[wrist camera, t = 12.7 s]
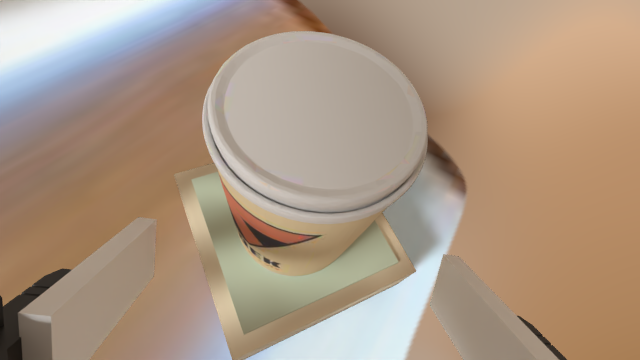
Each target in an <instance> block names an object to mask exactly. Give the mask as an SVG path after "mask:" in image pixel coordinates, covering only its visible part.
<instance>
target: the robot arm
mask: <svg viewBox="0 0 640 360" xmlns="http://www.w3.org/2000/svg"><path fill="white" fill-rule="evenodd" d="M156 222H157V219H149V218H141V217H138V218H137V219H135V220H134V221H133V222H132V223H130V224H129V225H128V226H127V227H125V228H124V229H123V230H122V231H120V232H119V233H118V234H117V235H115V236H114V237H113V238H112V239H110V240H109V241H108V242H107V243H105V244H104V245H103V246H102V247H100V248H99V249H98V250H96V251H95V252H94V253H93V254H91V255H90V256H89V257H88V258H86V259H85V260H84V261H83V262H81V263H80V264H79V265H78V266H76V267H75V268H74V269H73V270H70V269H60V270H58V271H55V272H53V273H51V274H48V275H46V276H44V277H43V278H41V279H40V280H39V281H37V282H36V283H35V284H33V285H32V287H29V288H28V289H26V290H25V291H24V292H22V294H21V295H18V296H17V297H15V298H14V299H13V300H11V301H10V302H9V303H7V304H6V305H5V306H3V304H2V297H1V296H0V360H89V359H90V358H91V357H92V355H93V354H94V353H95V351H96V350H97V349H98V348H99V346H100V345H101V344H102V342H103V341H104V340H105V339H106V337H107V336H108V335H109V333H110V332H111V331H112V329H113V328H114V327H115V326H116V324H117V323H118V322H119V320H120V319H121V318H122V317H123V315H124V314H125V313H126V311H127V310H128V309H129V308H130V306H131V305H132V304H133V302H134V301H135V300H136V298H137V297H138V296H139V295H140V293H141V292H142V291H143V289H144V288H145V287H146V286H147V284H148V283H149V282H150V280H151V279H152V278H153V277H154V264H155V243H156ZM430 306H431V308H432V310H433V311H434V313H435V315H436V316H437V318H438V319H439V321H440V323H441V324H442V326H443V327H444V329H445V331H446V332H447V334H448V336H449V337H450V338H451V341H452V342H453V344H454V345H455V347H456V349H457V350H458V352H459V354H460V355H461V357H462V358H463V360H567V359H566V358H565V357H564V356H563V355H562V354H561V353H560V352H559V351H558V350H557V349H556V348H555V347H554V346H553V345H551V343H550V342H549V341H548V340H547V339H546V338H545V337H543V336H542V334H541V333H540V332H539V331H538V330H537V329H536V328H535V327H534V326H533V325H532V324H530V323H528V322H527V321H526V320H524V319H523V318H521V317H520V316H516V315H515V314H514V313H513V312H512V311H511V310H510V309H509V308H508V306H507V305H506V304H504V302H503V301H502V300H501V299H500V298H499V297H498V296H497V295H496V294H495V293H494V292H493V291H492V290H491V289H490V288H489V287H488V286H487V285H486V284H485V283H484V282H483V281H482V280H481V279H480V278H479V277H478V276H477V275H476V274H475V273H474V272H473V270H471V268H470V267H469V266H468V265H467V264H466V263H465V262H464V261H463V260H462V259H461V258H460V257H459V256H452V255H444V254H443V258H442V261H441V265H440V269H439V273H438V276H437V280H436V284H435V287H434V291H433V295H432V299H431V302H430Z"/></svg>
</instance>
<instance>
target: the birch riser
mask: <svg viewBox="0 0 640 360" xmlns="http://www.w3.org/2000/svg"><path fill="white" fill-rule="evenodd" d="M174 176H175V180H176V183H177V186H178V189H179V192H180V195H181V199H182V202H183V205H184V208H185V211H186V214H187V218H188V221H189V224H190V227H191V230H192V233H193V237H194V240H195V243H196V246H197V249H198V252H199V256H200V259H201V262H202V265H203V268H204V271H205V275H206V278H207V281H208V284H209V287H210V290H211V294H212V297H213V300H214V303H215V306H216V309H217V312H218V316H219V319H220V322H221V325H222V328H223V331H224V335H225V338H226V341H227V344H228V347H229V350H230V354H231V357H232V360H244V359H246V358H248V357H250V356H252V355H254V354H256V353H258V352H260V351H262V350H264V349H266V348H268V347H270V346H273V345H275V344H277V343H279V342H281V341H283V340H285V339H287V338H289V337H291V336H293V335H295V334H297V333H299V332H301V331H303V330H305V329H307V328H309V327H311V326H313V325H315V324H317V323H319V322H321V321H323V320H325V319H327V318H329V317H331V316H333V315H336V314H338V313H340V312H342V311H344V310H346V309H348V308H350V307H352V306H354V305H356V304H358V303H360V302H362V301H364V300H366V299H368V298H370V297H372V296H374V295H376V294H378V293H380V292H382V291H384V290H386V289H388V288H390V287H392V286H394V285H396V284H398V283H399V282H401V281H402V280H404V279H405V278H407V277H408V276H410V275H411V274H413V273H414V272H416V270H415V268H414V266H413V265H412V263H411V261H410V259H409V258H408V256H407V254H406V252H405V251H404V249H403V247H402V246H401V244H400V242H399V240H398V239H397V237H396V235H395V234H394V232H393V230H392V228H391V227H390V225H389V223H388V221H387V220H386V218H385V216H384V215H383V213H381V214H380V215H379V216H378V217H377V218H376V220H375V221H374V222H373V223H372V224H371V225H370V226H369V227H368V228H367V229H366V230H365V231H364V232H363V233H362V234H361V235H360V236H359V237H358V238H357V239H356V240H355V241H354V242H353V243H352V244H351V245H350V246H349V247H348V248H347V249H346V250H345V251H344V252H343V253H342V254H341V255H340V256H339V257H338V258H337V259H336V260H335V261H333V262H332V263H331V264H330V265H328V266H327V267H325V268H324V269H322V270H320V271H318V272H315V273H313V274H309V275H304V276H285V275H280V274H276V273H274V272H271V271H269V270H267V269H265V268H264V267H262V266H261V265H259V264H258V263H257V262H256V261H255V260H254V259H253V258H252V257H251V256H250V255H249V254H248V252H247V251H246V249H245V248H244V246H243V244H242V242H241V240H240V237H239V235H238V232H237V229H236V226H235V223H234V220H233V217H232V214H231V211H230V208H229V205H228V202H227V199H226V196H225V193H224V190H223V187H222V183H221V180H220V176H219V173H218V170H217V167H216V165H215V163H212V164H208V165H205V166H201V167H198V168H194V169H191V170H187V171H184V172H180V173H177V174H174Z"/></svg>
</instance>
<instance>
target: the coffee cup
mask: <svg viewBox="0 0 640 360" xmlns="http://www.w3.org/2000/svg"><path fill="white" fill-rule="evenodd" d="M202 122H203V133H204V138H205V142H206V145H207V147H208V150H209V153H210V155H211V157H212V159H213V161H214V163H215V165H216V167H217V170H218V173H219V176H220V180H221V183H222V187H223V190H224V193H225V196H226V199H227V202H228V205H229V208H230V211H231V214H232V217H233V220H234V223H235V226H236V229H237V232H238V235H239V237H240V240H241V242H242V244H243V246H244V248H245V249H246V251H247V252H248V254H249V255H250V256H251V257H252V258H253V259H254V260H255V261H256V262H257V263H258V264H259V265H261V266H262V267H264V268H265V269H267V270H269V271H271V272H274V273H276V274H280V275H285V276H304V275H309V274H313V273H315V272H318V271H320V270H322V269H324V268H325V267H327V266H328V265H330V264H331V263H332V262H333V261H335V260H336V259H337V258H338V257H339V256H340V255H341V254H342V253H343V252H344V251H345V250H346V249H347V248H348V247H349V246H350V245H351V244H352V243H353V242H354V241H355V240H356V239H357V238H358V237H359V236H360V235H361V234H362V233H363V232H364V231H365V230H366V229H367V228H368V227H369V226H370V225H371V224H372V223H373V222H374V221H375V220H376V218H377V217H378V216H379V215H380V214H381V213H382V212H383V211H384V210H385V209H386V208H387V207H389V206H390V205H391V204H393V203H394V202H395V201H397V200H398V199H399V198H400V197H401V196H402V195H403V194H404V193H405V192H406V191H407V190H408V189H409V188H410V187H411V186H412V184H413V183H414V181H415V180H416V178H417V176H418V175H419V173H420V171H421V169H422V166H423V164H424V161H425V157H426V153H427V144H428V138H427V119H426V114H425V110H424V106H423V104H422V101H421V99H420V96H419V94H418V93H417V91H416V90H415V88H414V86H413V85H412V84H411V82H410V81H409V79H408V78H407V77H406V76H405V75H404V73H402V71H401V70H400V69H399V68H397V67H396V65H394V64H393V63H392V62H391V61H389V60H388V59H387V58H385V57H384V56H383V55H381V54H380V53H378V52H376V51H375V50H373V49H371V48H369V47H367V46H365V45H363V44H361V43H358V42H356V41H353V40H351V39H347V38H345V37H341V36H337V35H333V34H328V33H321V32H310V31H296V32H285V33H280V34H275V35H271V36H267V37H264V38H261V39H259V40H256V41H254V42H252V43H250V44H248V45H246V46H244V47H243V48H241V49H240V50H238V51H237V52H236V53H234V54H233V55H232V56H231V57H230V58H229V59H228V60H227V61H226V62H225V63H224V64H223V65H222V67H221V68H220V70H219V71H218V73H217V75H216V76H215V78H214V80H213V82H212V84H211V86H210V87H209V89H208V92H207V95H206V97H205V101H204V105H203V114H202Z"/></svg>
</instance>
